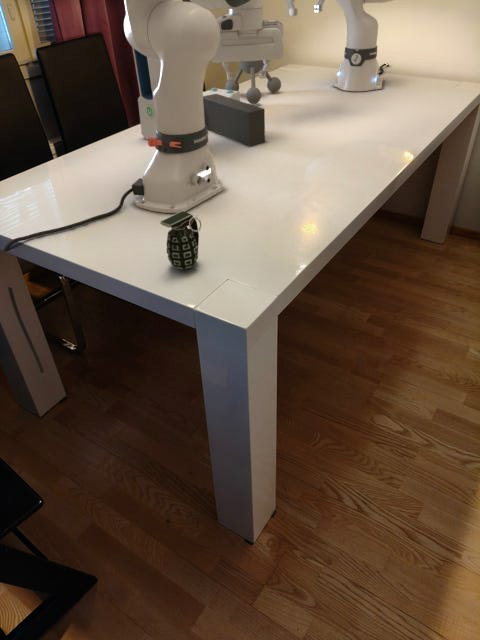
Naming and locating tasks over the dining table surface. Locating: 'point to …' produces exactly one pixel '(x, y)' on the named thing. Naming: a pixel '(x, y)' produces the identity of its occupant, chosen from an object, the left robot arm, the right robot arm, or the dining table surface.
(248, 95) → the molecular model
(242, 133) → the bar
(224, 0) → the left robot arm
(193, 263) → the grenade
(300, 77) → the dining table surface
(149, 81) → the electronic device
